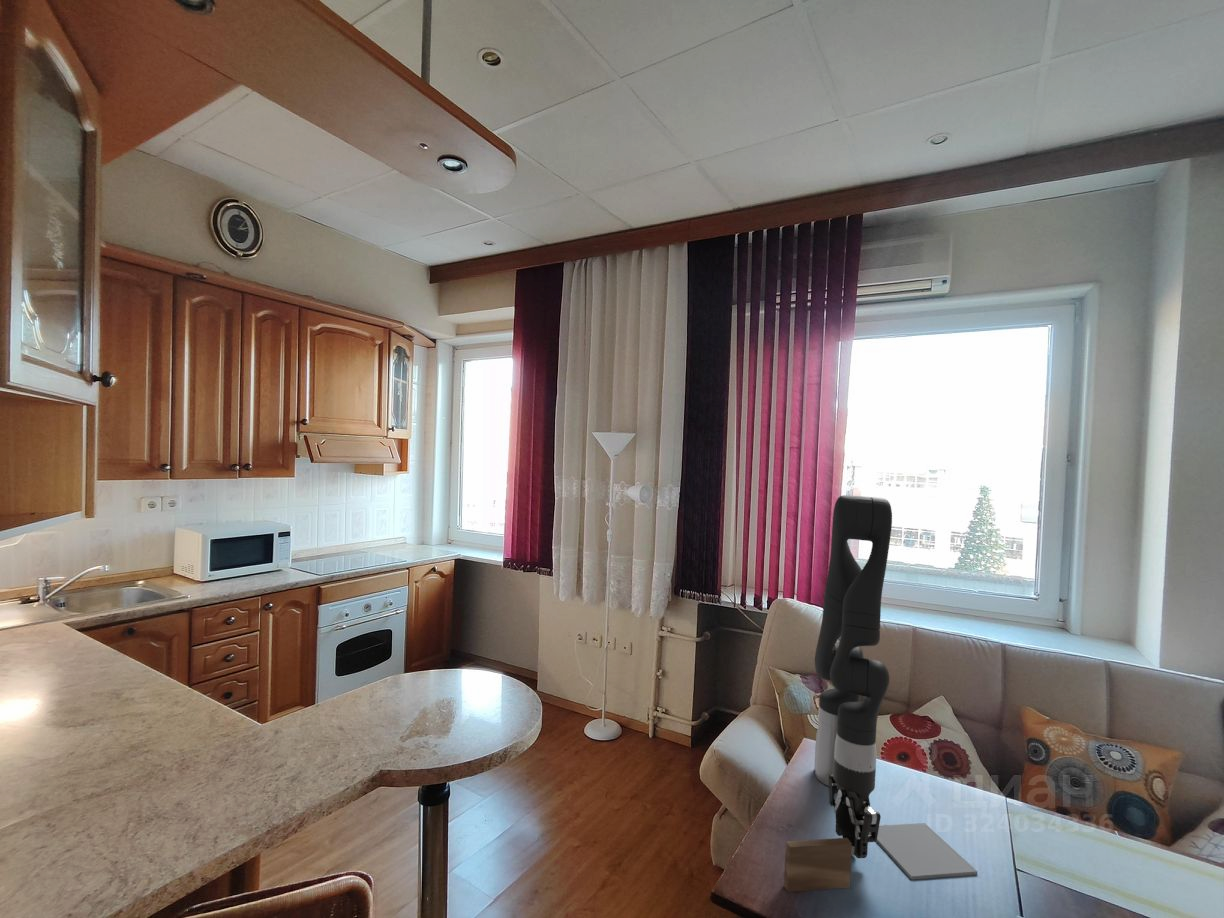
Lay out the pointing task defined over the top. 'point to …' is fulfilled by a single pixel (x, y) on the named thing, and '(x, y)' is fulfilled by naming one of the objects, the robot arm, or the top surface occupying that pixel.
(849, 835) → the light bulb
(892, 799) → the top surface
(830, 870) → the wooden toy block
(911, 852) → the rubber mat
